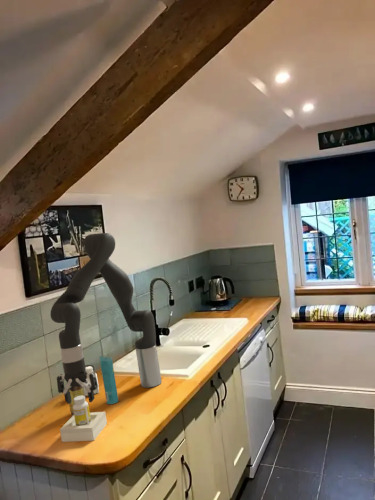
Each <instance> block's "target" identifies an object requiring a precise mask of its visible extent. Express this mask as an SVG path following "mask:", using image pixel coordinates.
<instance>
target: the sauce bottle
mask: <svg viewBox="0 0 375 500" xmlns="http://www.w3.org/2000/svg"><path fill="white" fill-rule="evenodd" d="M67 383H68V382H67V381H66V385H67ZM66 385H65V386H66ZM69 392H70V394H71V400H72V401H71V403H70V404H68V406H69V411H70V414H71V415H72V416H73V415H74V411H73V405H74V404H75V403H74V398H75V397H77V396H82V395H83V396H84V391H83V387H82V386H80V387H77V386H76V387H72V386H71V388H70V390H69Z"/></svg>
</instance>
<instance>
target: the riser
mask: <svg viewBox="0 0 375 500" xmlns="http://www.w3.org/2000/svg"><path fill="white" fill-rule="evenodd" d="M106 415H107V414H106V411H95V412H90V417H91V423H90V424H89V425H84V426H76V423H75V417H74V415H72V416H71V417H70V418H69V419H68V421H67V422H65V424H63V426H62V427H61V428H59V431H60V438H61V443H66V442H67V443H68V442H85V441H86V442H90V441H92V442H93V441H95V440H96V439H97V438H98V437H99V435H100V434H101V432H102V431H103V430H104V428H106V425H108V421H107V416H106Z"/></svg>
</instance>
